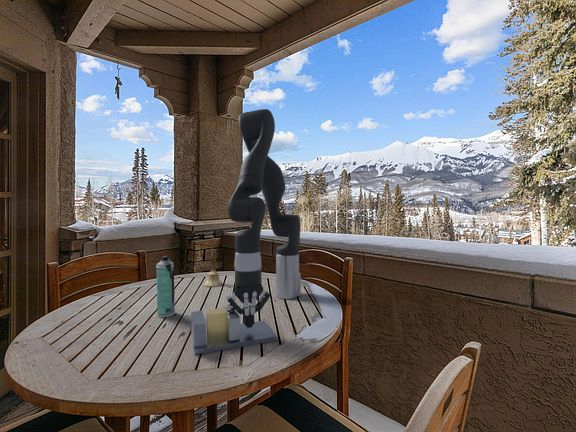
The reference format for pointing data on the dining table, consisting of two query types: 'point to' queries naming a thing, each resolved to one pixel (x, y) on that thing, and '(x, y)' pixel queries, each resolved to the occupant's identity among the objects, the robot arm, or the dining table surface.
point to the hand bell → (213, 273)
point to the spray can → (165, 288)
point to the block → (216, 323)
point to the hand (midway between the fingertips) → (249, 326)
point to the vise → (247, 337)
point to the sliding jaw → (232, 324)
